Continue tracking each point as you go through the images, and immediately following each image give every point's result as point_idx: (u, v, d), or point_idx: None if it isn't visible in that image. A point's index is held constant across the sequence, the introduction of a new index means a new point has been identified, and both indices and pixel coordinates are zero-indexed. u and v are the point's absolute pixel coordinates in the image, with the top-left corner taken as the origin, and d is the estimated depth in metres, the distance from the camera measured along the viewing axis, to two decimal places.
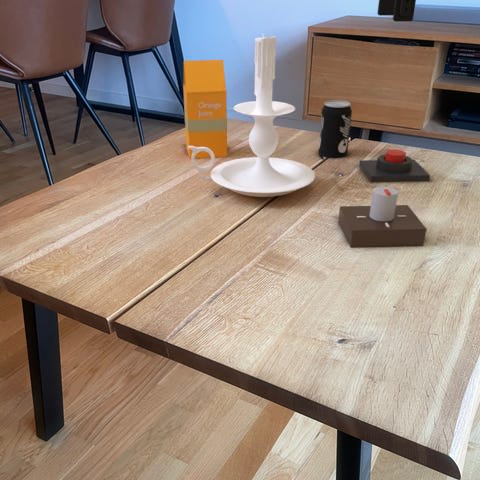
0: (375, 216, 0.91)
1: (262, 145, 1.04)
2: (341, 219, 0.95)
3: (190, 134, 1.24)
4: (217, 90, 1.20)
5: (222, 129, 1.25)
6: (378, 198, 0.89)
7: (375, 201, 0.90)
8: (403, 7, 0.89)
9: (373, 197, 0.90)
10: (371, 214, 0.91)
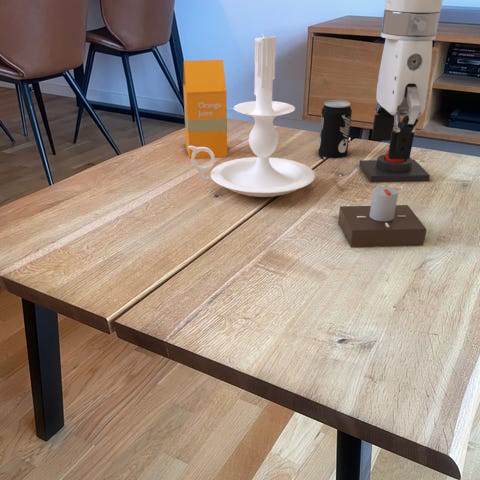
0: (375, 216, 0.91)
1: (262, 145, 1.04)
2: (341, 219, 0.95)
3: (190, 134, 1.24)
4: (217, 90, 1.20)
5: (222, 129, 1.25)
6: (378, 198, 0.89)
7: (375, 201, 0.90)
8: (399, 146, 0.81)
9: (373, 197, 0.90)
10: (371, 214, 0.91)
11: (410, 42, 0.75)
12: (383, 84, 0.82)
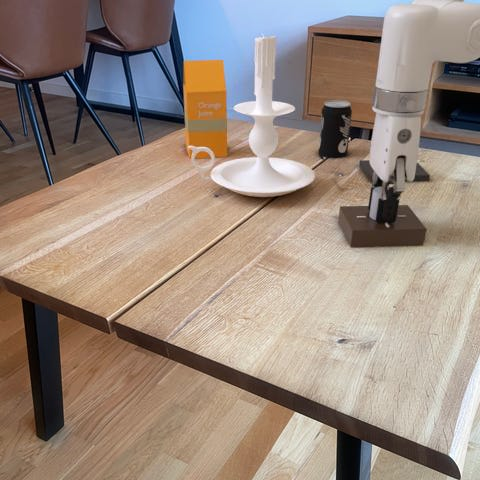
0: (375, 216, 0.91)
1: (262, 145, 1.04)
2: (341, 219, 0.95)
3: (190, 134, 1.24)
4: (217, 90, 1.20)
5: (222, 129, 1.25)
6: (378, 198, 0.89)
7: (375, 201, 0.90)
8: (386, 212, 0.88)
9: (373, 197, 0.90)
10: (371, 214, 0.91)
11: (400, 118, 0.79)
12: (375, 152, 0.86)
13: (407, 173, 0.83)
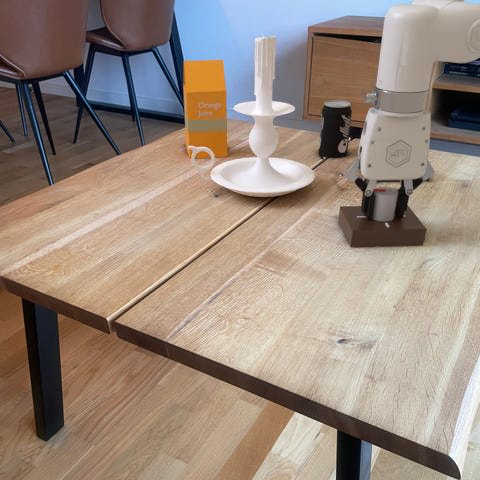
0: None
1: (262, 145, 1.04)
2: (341, 219, 0.95)
3: (190, 134, 1.24)
4: (217, 90, 1.20)
5: (222, 129, 1.25)
6: None
7: None
8: (362, 203, 0.91)
9: None
10: None
11: None
12: None
13: (360, 166, 0.86)
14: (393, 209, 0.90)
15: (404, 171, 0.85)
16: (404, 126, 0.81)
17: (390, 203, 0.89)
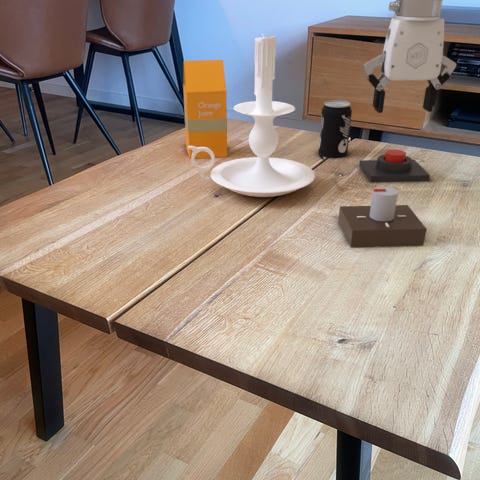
0: None
1: (262, 145, 1.04)
2: (341, 219, 0.95)
3: (190, 134, 1.24)
4: (217, 90, 1.20)
5: (222, 129, 1.25)
6: None
7: None
8: (373, 99, 1.06)
9: None
10: None
11: None
12: None
13: (384, 68, 1.01)
14: (393, 209, 0.90)
15: (422, 72, 1.00)
16: (422, 30, 0.97)
17: (390, 203, 0.89)
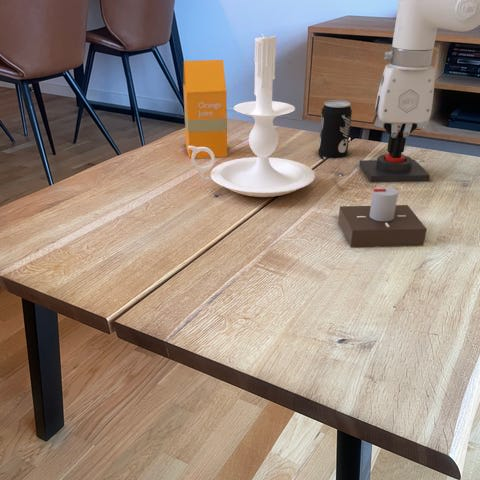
0: None
1: (262, 145, 1.04)
2: (341, 219, 0.95)
3: (190, 134, 1.24)
4: (217, 90, 1.20)
5: (222, 129, 1.25)
6: None
7: None
8: (388, 144, 1.13)
9: None
10: None
11: None
12: None
13: (378, 111, 1.08)
14: (393, 209, 0.90)
15: (413, 116, 1.07)
16: (414, 78, 1.03)
17: (390, 203, 0.89)
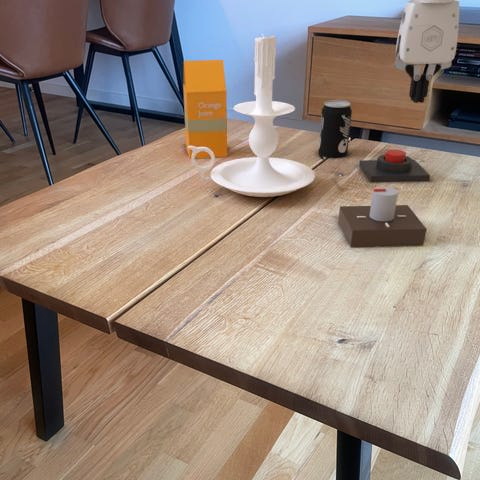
0: None
1: (262, 145, 1.04)
2: (341, 219, 0.95)
3: (190, 134, 1.24)
4: (217, 90, 1.20)
5: (222, 129, 1.25)
6: None
7: None
8: (410, 89, 1.07)
9: None
10: None
11: None
12: None
13: (399, 52, 1.02)
14: (393, 209, 0.90)
15: (437, 55, 1.01)
16: (437, 12, 0.97)
17: (390, 203, 0.89)
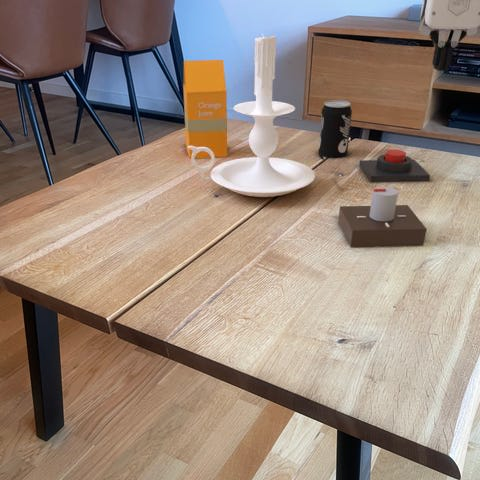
0: None
1: (262, 145, 1.04)
2: (341, 219, 0.95)
3: (190, 134, 1.24)
4: (217, 90, 1.20)
5: (222, 129, 1.25)
6: None
7: None
8: (434, 57, 1.04)
9: None
10: None
11: None
12: None
13: (425, 16, 0.99)
14: (393, 209, 0.90)
15: (463, 20, 0.98)
16: None
17: (390, 203, 0.89)
